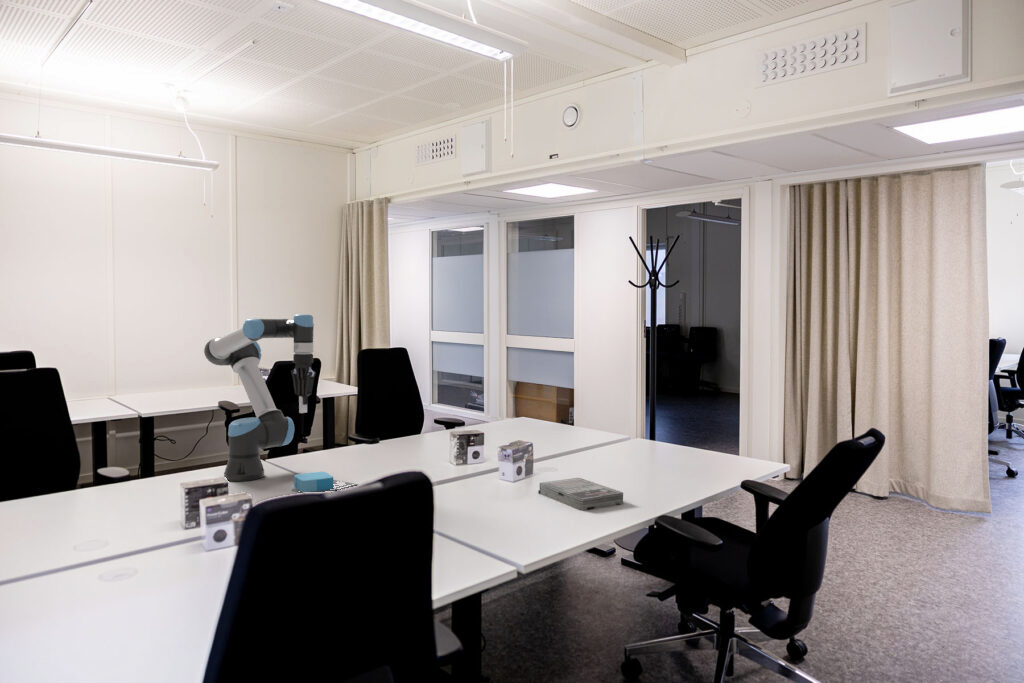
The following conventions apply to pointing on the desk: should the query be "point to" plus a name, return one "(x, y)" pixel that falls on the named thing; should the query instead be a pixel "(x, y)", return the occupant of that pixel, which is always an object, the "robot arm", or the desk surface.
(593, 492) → the grey flat block
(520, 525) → the desk surface
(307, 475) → the data package
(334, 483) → the mat
